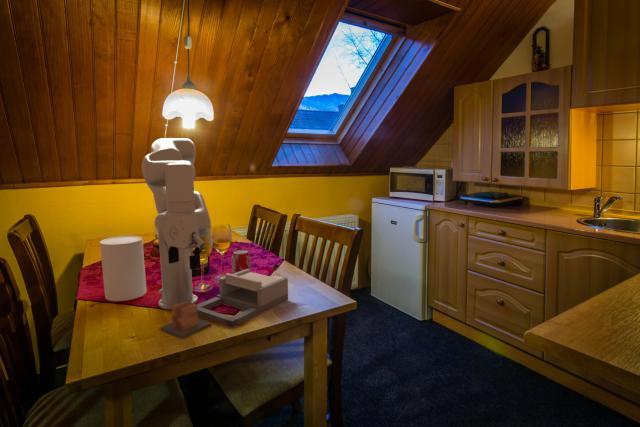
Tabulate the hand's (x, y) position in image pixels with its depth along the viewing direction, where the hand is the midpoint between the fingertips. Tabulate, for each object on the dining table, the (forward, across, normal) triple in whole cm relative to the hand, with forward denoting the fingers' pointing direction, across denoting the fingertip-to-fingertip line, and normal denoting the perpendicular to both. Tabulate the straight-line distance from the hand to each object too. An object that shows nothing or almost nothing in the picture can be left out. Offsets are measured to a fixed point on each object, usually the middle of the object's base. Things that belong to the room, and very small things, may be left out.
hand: (184, 265), depth 119 cm
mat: (+18, +1, -1) cm, 19 cm away
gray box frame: (+19, +3, +19) cm, 27 cm away
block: (+18, +1, -1) cm, 18 cm away
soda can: (+19, -16, +37) cm, 45 cm away
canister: (+20, -40, +4) cm, 45 cm away
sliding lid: (+12, +2, +26) cm, 29 cm away
